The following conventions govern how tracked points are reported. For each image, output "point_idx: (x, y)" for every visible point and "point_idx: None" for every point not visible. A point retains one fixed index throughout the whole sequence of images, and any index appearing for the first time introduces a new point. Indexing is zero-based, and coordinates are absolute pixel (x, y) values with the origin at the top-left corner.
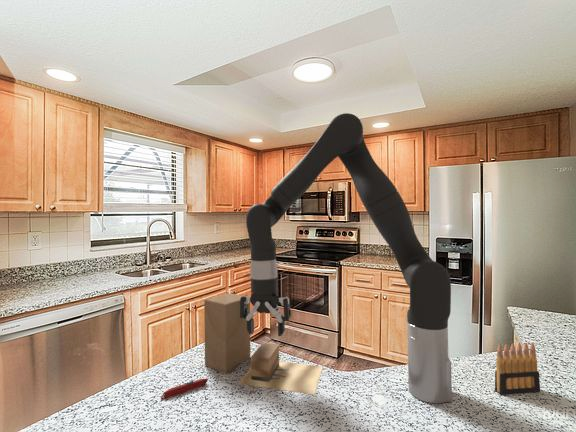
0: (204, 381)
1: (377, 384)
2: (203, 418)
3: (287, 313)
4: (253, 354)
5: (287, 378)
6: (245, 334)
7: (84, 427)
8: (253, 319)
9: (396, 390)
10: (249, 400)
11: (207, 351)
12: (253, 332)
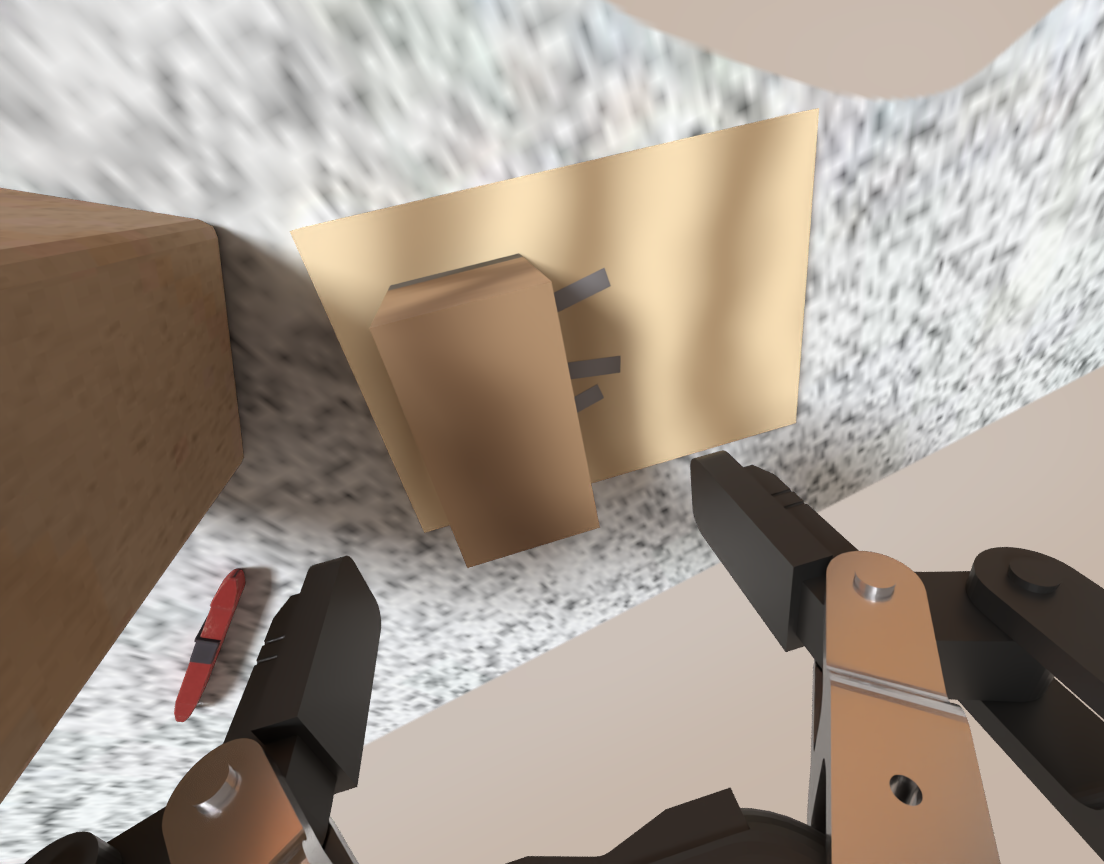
0: (238, 593)
1: (1077, 122)
2: (446, 670)
3: (1101, 767)
4: (459, 537)
5: (638, 370)
6: (60, 368)
7: None
8: (308, 720)
9: None
10: None
11: None
12: (354, 564)
